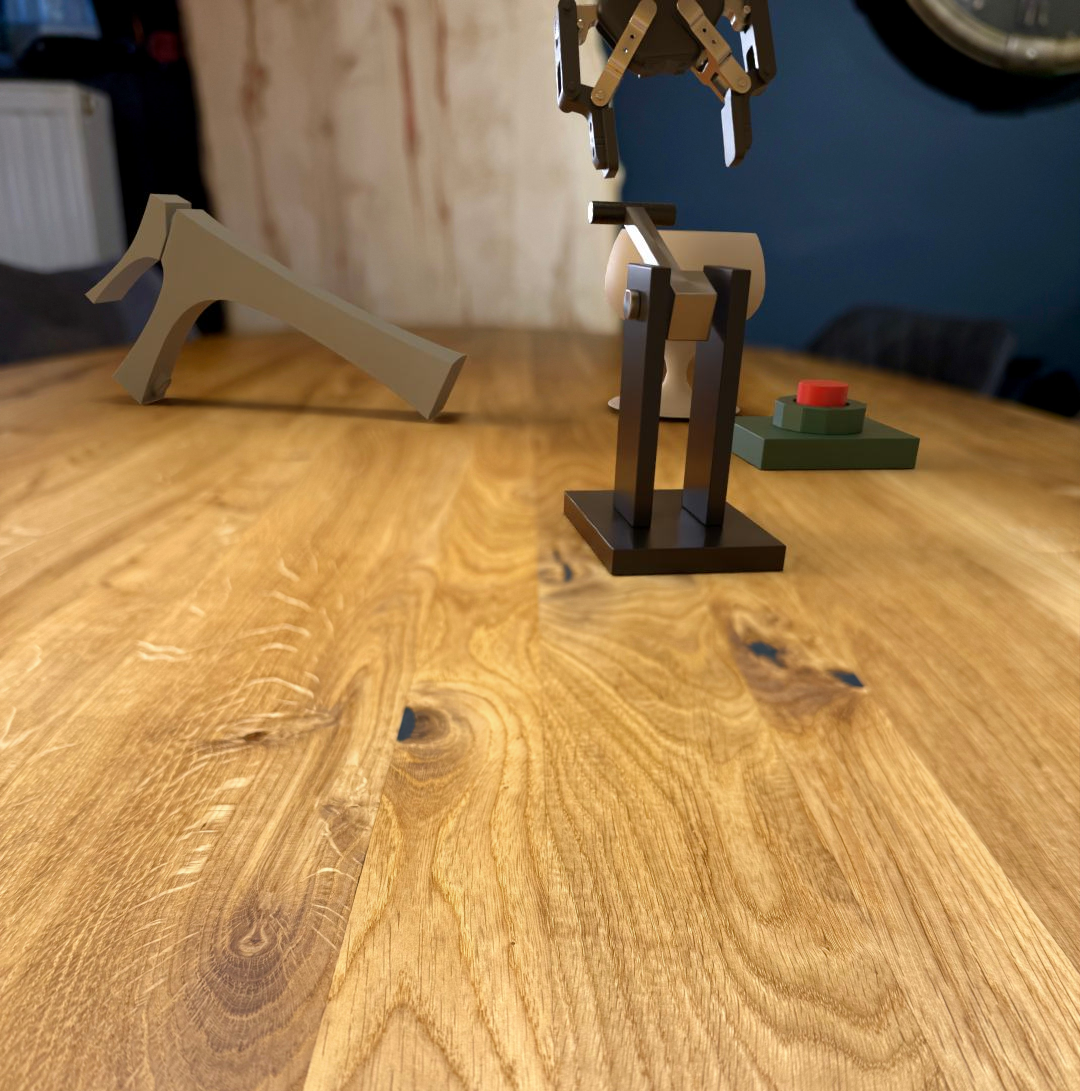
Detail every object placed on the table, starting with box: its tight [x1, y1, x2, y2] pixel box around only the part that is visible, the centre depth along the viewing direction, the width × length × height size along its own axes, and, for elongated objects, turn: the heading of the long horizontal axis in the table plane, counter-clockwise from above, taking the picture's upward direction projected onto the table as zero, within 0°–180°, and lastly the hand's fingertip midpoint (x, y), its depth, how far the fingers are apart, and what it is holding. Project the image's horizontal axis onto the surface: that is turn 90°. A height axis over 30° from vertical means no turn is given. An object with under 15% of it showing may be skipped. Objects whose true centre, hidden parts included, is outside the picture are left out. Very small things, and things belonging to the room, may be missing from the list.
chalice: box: [604, 228, 766, 420], centre depth 92 cm, size 14×14×15 cm
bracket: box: [563, 263, 787, 576], centre depth 54 cm, size 12×9×14 cm
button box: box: [731, 394, 921, 471], centre depth 78 cm, size 12×9×4 cm
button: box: [796, 379, 850, 407], centre depth 77 cm, size 4×4×2 cm
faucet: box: [84, 193, 468, 420], centre depth 88 cm, size 6×17×30 cm
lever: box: [587, 200, 718, 341], centre depth 55 cm, size 14×5×2 cm, turn 10°
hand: (674, 168), depth 69 cm, fingers open, 8 cm apart
